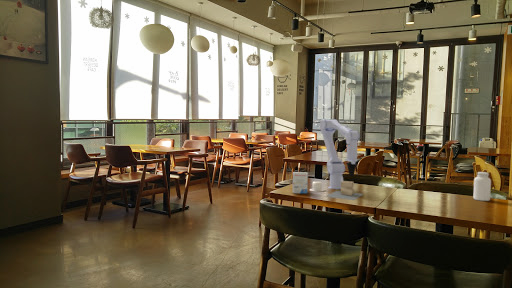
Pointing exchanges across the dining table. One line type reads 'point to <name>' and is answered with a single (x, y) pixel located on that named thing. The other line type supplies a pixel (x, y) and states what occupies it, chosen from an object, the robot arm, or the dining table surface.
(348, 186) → the beech block
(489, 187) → the pill bottle
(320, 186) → the espresso cup
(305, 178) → the ink box
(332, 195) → the mat
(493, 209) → the dining table surface
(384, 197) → the dining table surface
